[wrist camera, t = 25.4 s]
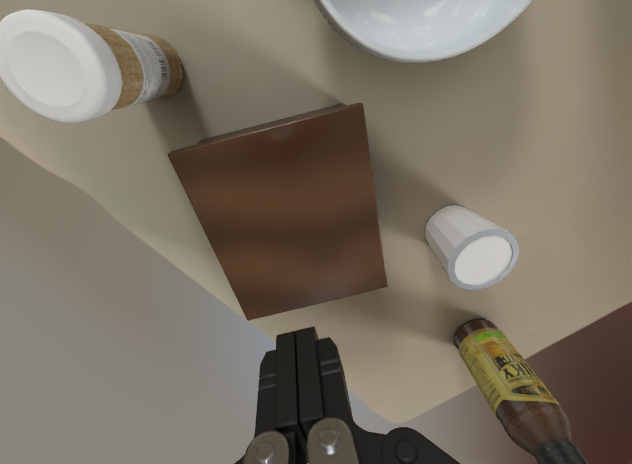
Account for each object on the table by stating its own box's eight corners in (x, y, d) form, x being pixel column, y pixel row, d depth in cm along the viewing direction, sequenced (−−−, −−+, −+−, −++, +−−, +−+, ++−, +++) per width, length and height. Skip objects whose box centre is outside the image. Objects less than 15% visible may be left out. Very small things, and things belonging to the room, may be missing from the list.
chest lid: (170, 151, 22) (167, 154, 21) (360, 102, 21) (363, 103, 21) (248, 314, 30) (247, 320, 29) (385, 281, 30) (388, 286, 29)
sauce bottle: (504, 321, 43) (653, 494, 26) (478, 352, 46) (598, 529, 28) (466, 311, 42) (597, 488, 24) (441, 344, 44) (545, 526, 27)
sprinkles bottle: (119, 32, 24) (-35, 1, 12) (181, 37, 25) (88, 12, 13) (131, 96, 26) (9, 122, 15) (188, 100, 27) (114, 127, 15)
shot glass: (480, 243, 37) (519, 279, 31) (423, 260, 37) (451, 299, 31) (477, 191, 34) (521, 219, 27) (415, 211, 34) (444, 243, 28)
